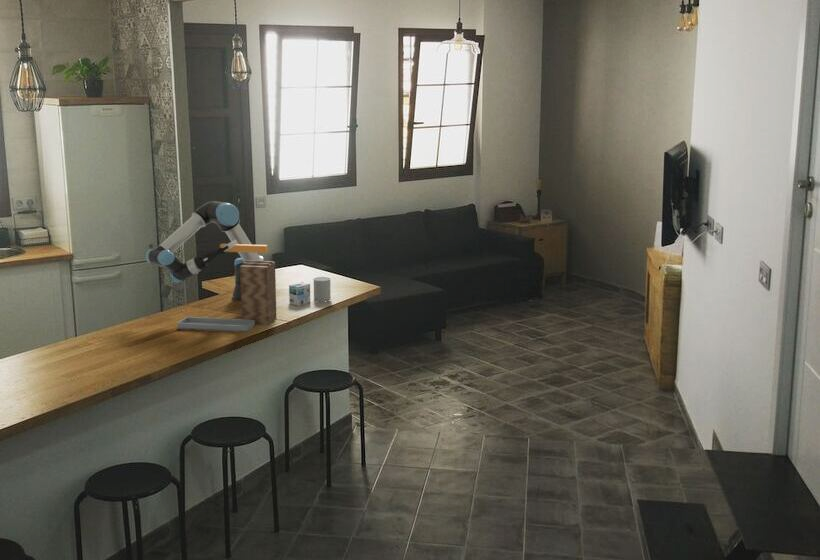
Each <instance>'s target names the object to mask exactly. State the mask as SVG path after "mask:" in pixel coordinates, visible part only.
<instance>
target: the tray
mask: <svg viewBox="0 0 820 560" xmlns="http://www.w3.org/2000/svg"><path fill="white" fill-rule="evenodd" d="M176 325H177V329H179V330H190V329H195V331H211V330H219V331H218V332H231V331H236V333H249V332H250V331H251V330H252V329H253V328H254V327H255V326H256V325H255V320H244V319H242V318H241V319H239V318H221V317H220V318H218V317H199V316H197V317H195V316H185V318H183V319H181V320H180V321H178V322H177V324H176ZM252 327H253V328H252ZM251 328H252V329H251ZM250 329H251V330H250ZM249 330H250V331H249Z"/></svg>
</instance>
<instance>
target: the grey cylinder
mask: <svg viewBox="0 0 820 560" xmlns="http://www.w3.org/2000/svg"><path fill="white" fill-rule="evenodd" d="M312 280H313V301H314V300H315V301H318V302H317V303H326V302H325V301H329V300H331V301H332V299H331V278H330V277H324V276H321V277H320V276H319V277H315V278H313V279H312ZM315 301H314V302H315ZM329 302H330V301H329Z"/></svg>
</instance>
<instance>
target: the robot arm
mask: <svg viewBox="0 0 820 560" xmlns="http://www.w3.org/2000/svg"><path fill="white" fill-rule="evenodd" d="M240 222H241V219H240V211H239V209H238V207H236V205H234V204H232V203H229V202H224V201H223V202H221V201H217V200H212V201H211V200H210V201H207V202H206V203H204V204H202V205H201V206H199V207H198V208H197V209H196V210H195V211H193V212H192V213H191V217H189V219H187V220H186V221H184V223H183V224H181V226H179V227H178V228H177V229H175V231H174V232H173V233H171V234H170V235H169V236H168V237H167V238H166V239H165V240H163V242H161V243H160V244H159V245H158V246H157V247H155V249H154V248H153V249H149V250H147V251H146V253H145V257H144V258H145V261H146V262H147V263H149V264H151V265H154V266H158V267H161V268H165V269H166V270H168V271H169V276H170V278H171V280H172V282H174V283H176V284H179V283H181V282H184V281H185V280H187V279H188V278H191V277H192V276H194V275H198V274H199V272H201V271H203V270H205V269H206V268H208V267H209V263H210V262H211V261H213V260H214V259H216V258H217V256H219V255H222V254H223V255H224V254H225V253H226V252H225V251H227V250H229V249H230V248H232V247H234V246H236V245H235V244H251V245H253V243H252V242H251V241H250V240H249V237H248V236H247V234H246V232H245V231H244V230H243V228H242V227H241V224H240ZM211 223H212V224H216V226H217V227H218V229H219V230H220V231H221V232H224V233H225V235H226V236H227V237H228V239H229V240H230V242H228V243H226V244H227V245H225V246H223V247H222V248H220V247H219V248H217V250H214V251H211V252H210V253H206V254H205V255H203V254H198V255H196V256H195V257H193V258H191V259H189V260H187V261H186V262H184V263H183V262H182V261H181V260H180V259H179V258H178V257H177V256H176V255H175V251H176V250H178V249H179V248H180V247H181V246H182V245H184V244H185V242H187V241H188V240H189V239H190V238H191V237H192V236H193V235H194V234H196V233H197V232H198V231H199V230H200V229H201V228H205V227H206V226H207V225H209V224H211ZM237 253H238V254H239V256H240V257H237V258H236V259H234V265H233V267H234V280H235V281H234V287H233V291H232V298H233V299H234V300H236V301H237V300H238V301H241V281H240V266H241V265H242V263H243V262H244V263H246V260H249V261H266V260H265V257H263V256H262V255H259V253H249V252H237Z"/></svg>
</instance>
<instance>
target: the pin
mask: <svg viewBox="0 0 820 560" xmlns="http://www.w3.org/2000/svg"><path fill="white" fill-rule="evenodd" d="M227 244H228V243H221V244H219V249H220V248H222V247H223V246H225V245H227ZM251 244H252V243H251ZM251 244H235V245H236V246H234V247H232V248H230V249H229V250H227V251H225V252H224V253H238V252H249V253H257V254H260V253H261V254H267V253H269V245H268V244H252V245H251Z"/></svg>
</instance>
